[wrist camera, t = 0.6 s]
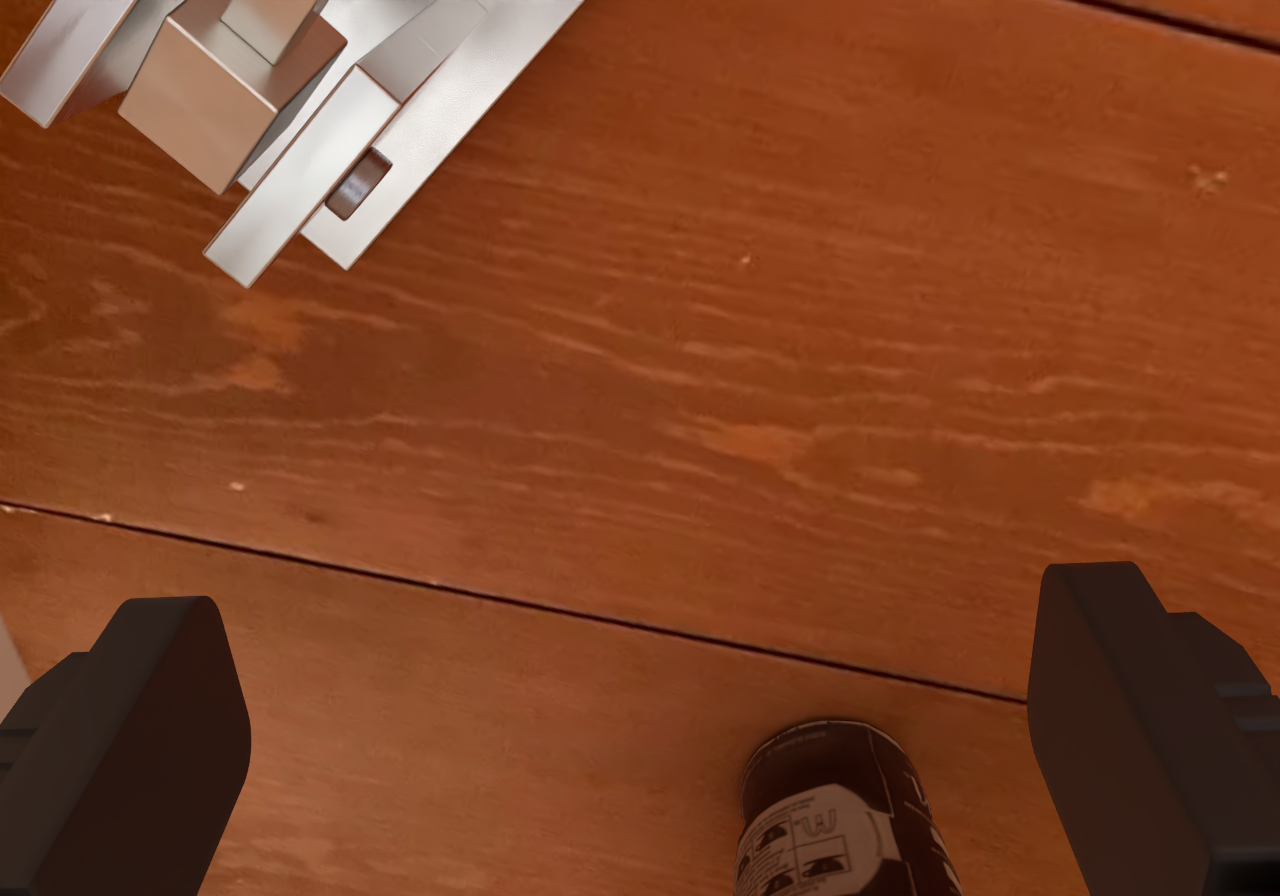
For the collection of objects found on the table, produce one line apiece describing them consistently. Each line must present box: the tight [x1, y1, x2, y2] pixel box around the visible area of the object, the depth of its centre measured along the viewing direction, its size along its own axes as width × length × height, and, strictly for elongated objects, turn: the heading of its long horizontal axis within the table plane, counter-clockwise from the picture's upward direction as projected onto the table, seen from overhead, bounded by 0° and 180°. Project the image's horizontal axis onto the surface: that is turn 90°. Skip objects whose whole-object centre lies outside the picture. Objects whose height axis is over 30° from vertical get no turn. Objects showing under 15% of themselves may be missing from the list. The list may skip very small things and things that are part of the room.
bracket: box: [0, 0, 586, 289], centre depth 24 cm, size 11×8×12 cm
